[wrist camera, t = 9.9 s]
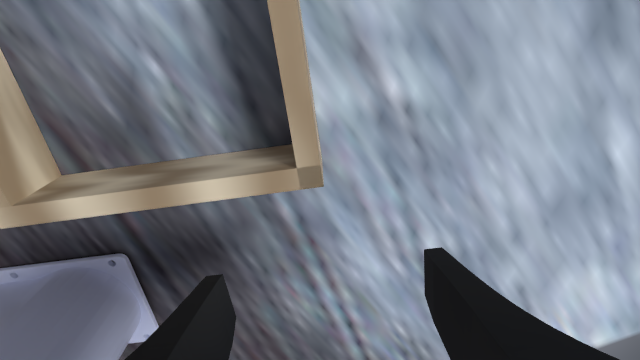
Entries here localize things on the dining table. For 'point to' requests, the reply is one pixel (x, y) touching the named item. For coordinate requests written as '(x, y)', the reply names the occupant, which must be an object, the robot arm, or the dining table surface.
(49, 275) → the robot arm
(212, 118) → the dining table surface
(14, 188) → the birch frame
